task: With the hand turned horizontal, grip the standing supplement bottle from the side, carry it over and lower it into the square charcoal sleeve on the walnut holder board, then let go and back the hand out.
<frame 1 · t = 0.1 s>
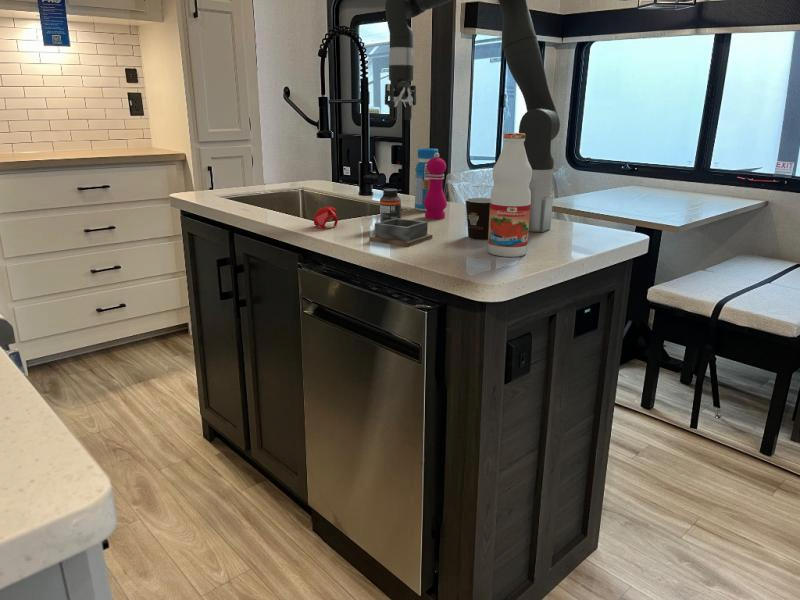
hand: (400, 120, 191), 29 cm above the countertop, tool pointing down, fingers open, 8 cm apart
fruit juice: (506, 253, 149), on the countertop
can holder: (401, 239, 162), on the countertop
supplement bottle: (390, 230, 175), on the countertop
pepper mill: (434, 218, 194), on the countertop
red toy crab: (325, 228, 177), on the countertop
beverage bottle: (426, 210, 209), on the countertop
coffee mug: (482, 239, 165), on the countertop
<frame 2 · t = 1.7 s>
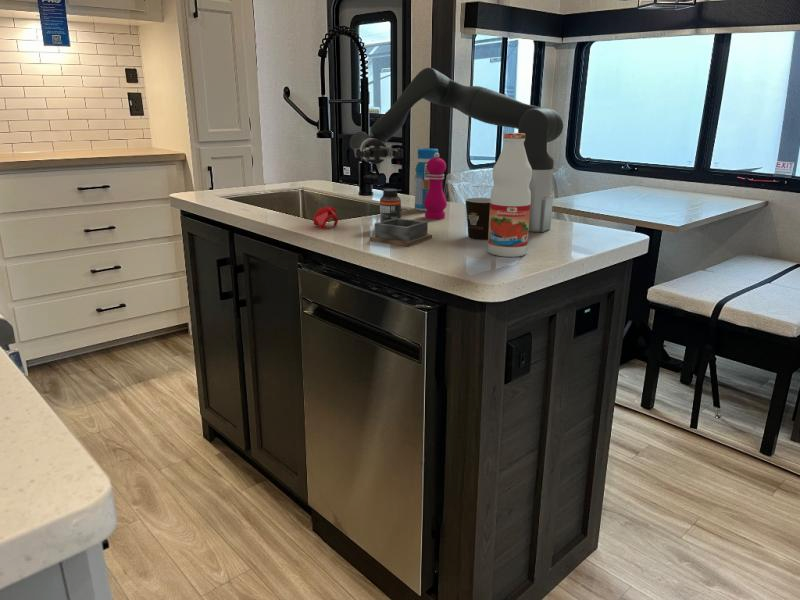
hand: (382, 155, 179), 20 cm above the countertop, tool horizontal, fingers open, 8 cm apart
nothing on the countertop moved.
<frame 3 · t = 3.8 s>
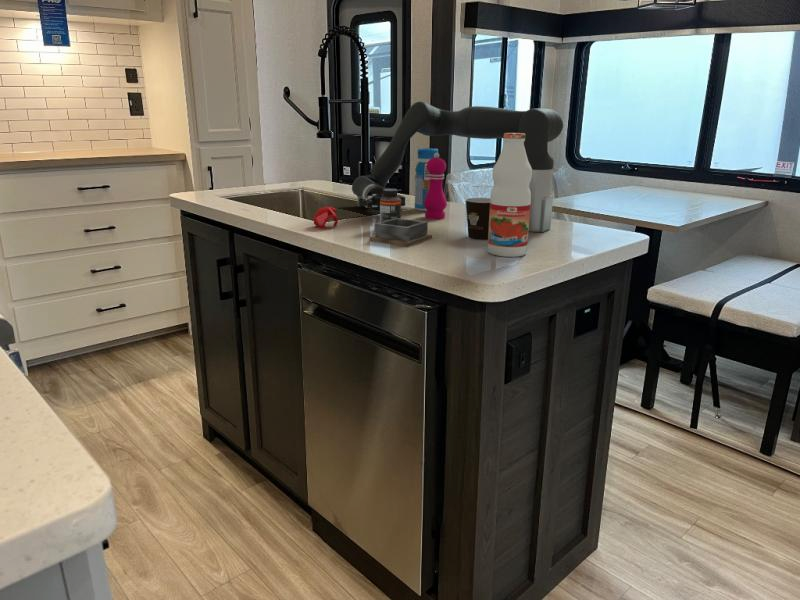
hand: (385, 204, 180), 6 cm above the countertop, tool horizontal, fingers open, 8 cm apart
nothing on the countertop moved.
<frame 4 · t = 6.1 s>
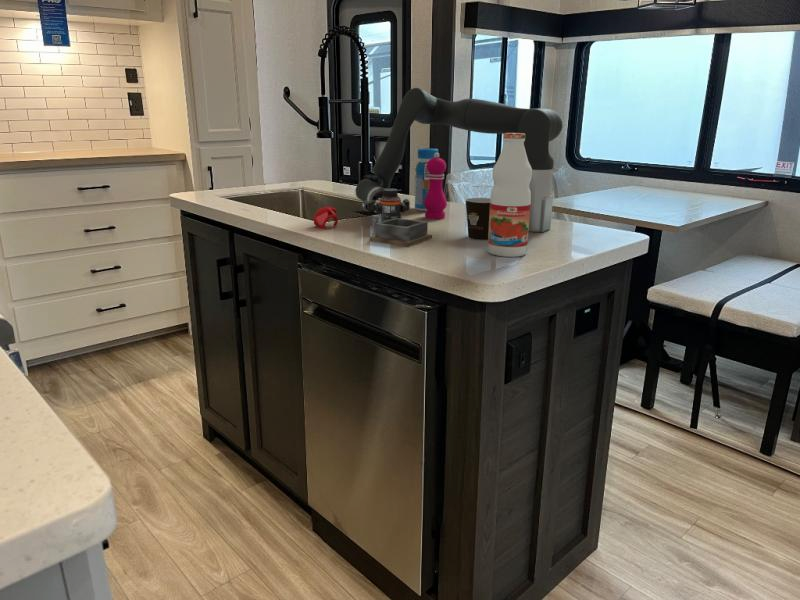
hand: (392, 209, 171), 6 cm above the countertop, tool horizontal, fingers closed on supplement bottle, 6 cm apart
supplement bottle: (390, 230, 175), on the countertop, touching gripper
everything else where it was.
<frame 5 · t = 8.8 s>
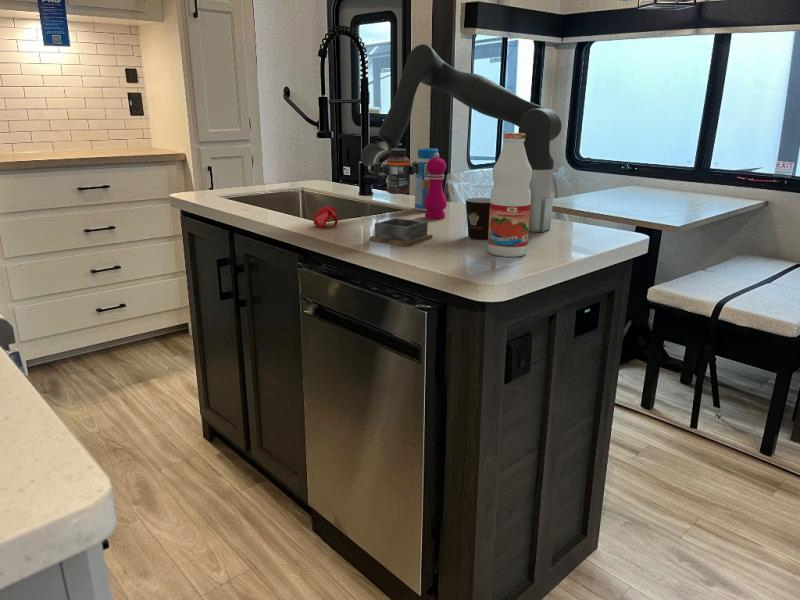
hand: (400, 170, 159), 18 cm above the countertop, tool horizontal, fingers closed on supplement bottle, 6 cm apart
supplement bottle: (398, 193, 163), point 11 cm above the countertop, touching gripper
everything else where it was.
when the fingers open (9 cm above the countertop, at t = 11.8 s): supplement bottle drops 2 cm, resting on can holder.
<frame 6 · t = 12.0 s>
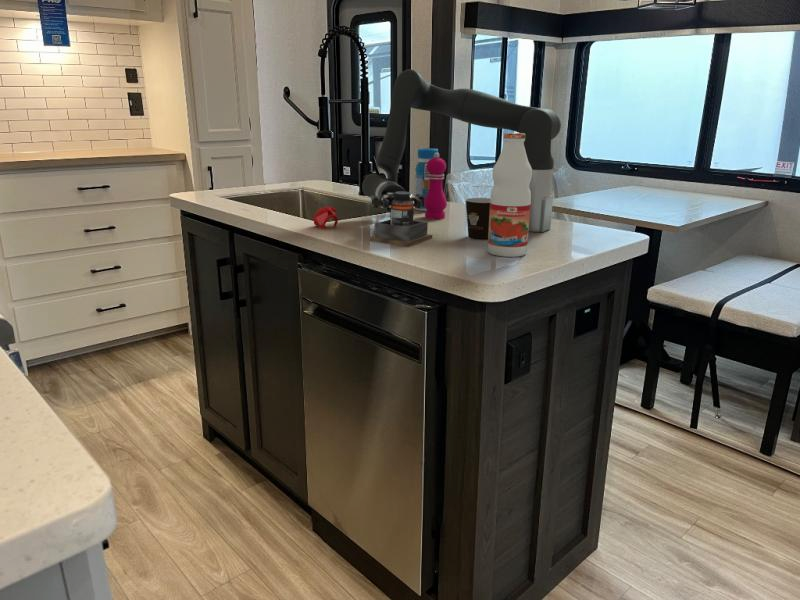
hand: (403, 204, 157), 9 cm above the countertop, tool horizontal, fingers open, 7 cm apart
supplement bottle: (401, 236, 162), point 1 cm above the countertop, touching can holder
everything else where it was.
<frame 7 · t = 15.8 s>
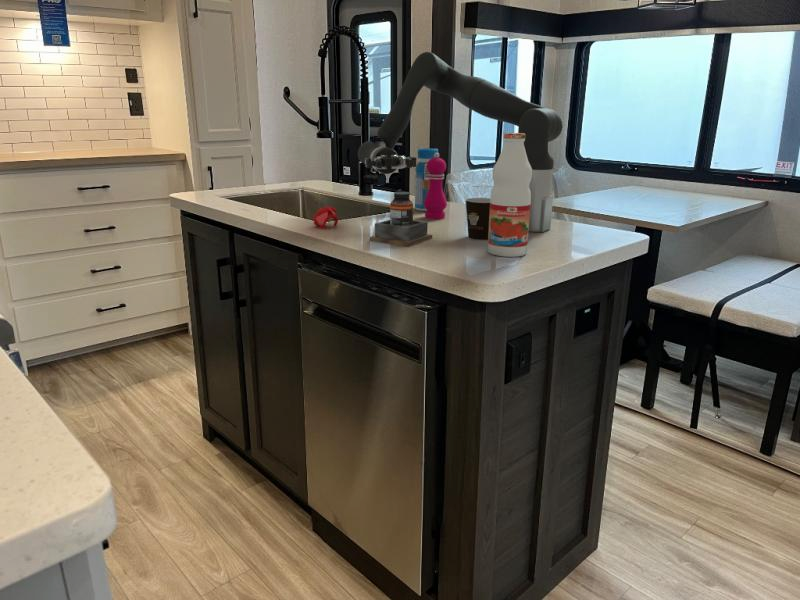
hand: (395, 164, 169), 18 cm above the countertop, tool horizontal, fingers open, 8 cm apart
nothing on the countertop moved.
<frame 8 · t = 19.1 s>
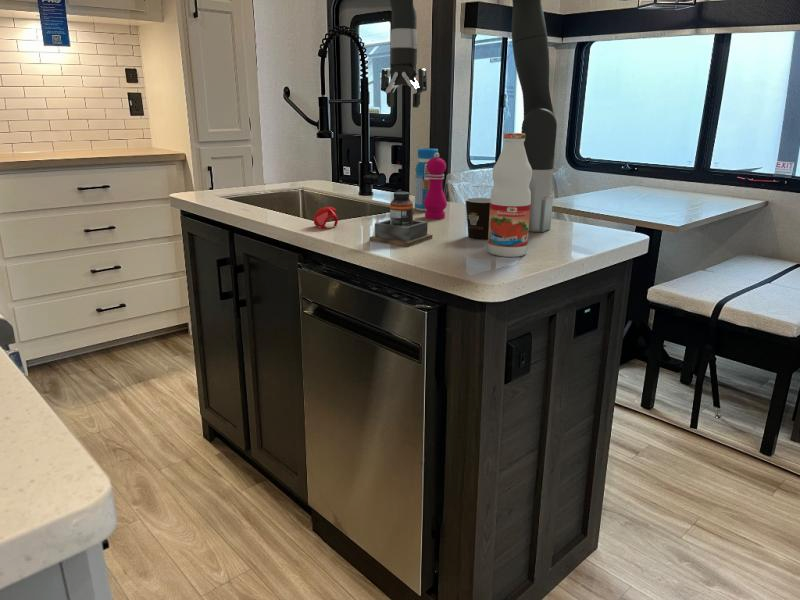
hand: (403, 107, 179), 33 cm above the countertop, tool pointing down, fingers open, 8 cm apart
nothing on the countertop moved.
at the end: supplement bottle 0.1 cm off-centre on the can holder, point 0.8 cm above the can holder's base; supplement bottle tilted 0°; the gripper is holding nothing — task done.
